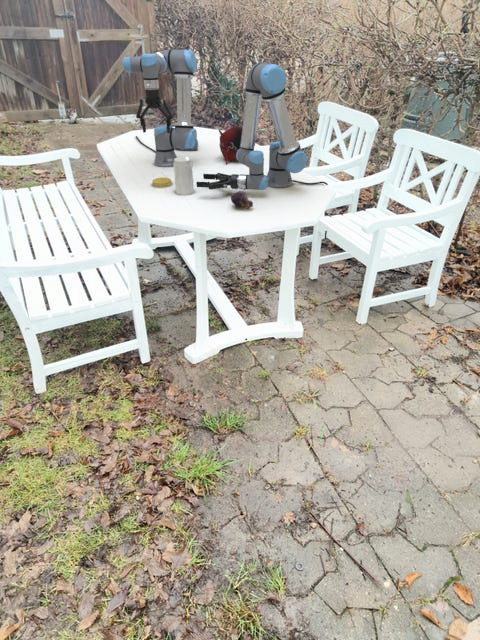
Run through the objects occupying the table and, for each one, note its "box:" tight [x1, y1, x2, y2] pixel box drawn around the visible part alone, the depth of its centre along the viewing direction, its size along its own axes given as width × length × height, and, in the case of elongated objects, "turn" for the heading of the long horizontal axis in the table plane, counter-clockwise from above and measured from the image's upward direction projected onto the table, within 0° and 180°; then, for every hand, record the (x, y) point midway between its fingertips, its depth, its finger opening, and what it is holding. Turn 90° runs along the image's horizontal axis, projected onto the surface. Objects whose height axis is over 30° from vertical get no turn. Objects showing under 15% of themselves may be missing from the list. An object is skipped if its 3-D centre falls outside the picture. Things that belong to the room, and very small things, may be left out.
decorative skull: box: [218, 126, 257, 165], centre depth 296 cm, size 21×24×25 cm
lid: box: [151, 177, 172, 188], centre depth 259 cm, size 11×11×2 cm
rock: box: [230, 190, 254, 209], centre depth 225 cm, size 12×9×10 cm
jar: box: [173, 156, 195, 196], centre depth 243 cm, size 10×10×18 cm
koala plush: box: [175, 138, 199, 151], centre depth 321 cm, size 17×18×20 cm
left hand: (156, 132), depth 243 cm, fingers open, 13 cm apart
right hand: (200, 180), depth 243 cm, fingers open, 13 cm apart
